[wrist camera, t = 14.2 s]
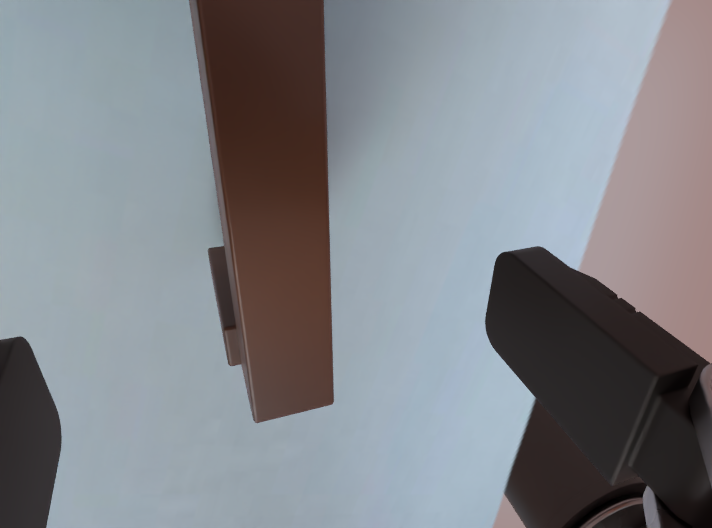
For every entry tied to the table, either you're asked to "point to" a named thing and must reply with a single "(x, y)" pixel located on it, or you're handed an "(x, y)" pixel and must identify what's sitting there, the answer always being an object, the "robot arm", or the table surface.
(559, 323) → the robot arm
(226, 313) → the door handle
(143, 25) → the table surface
